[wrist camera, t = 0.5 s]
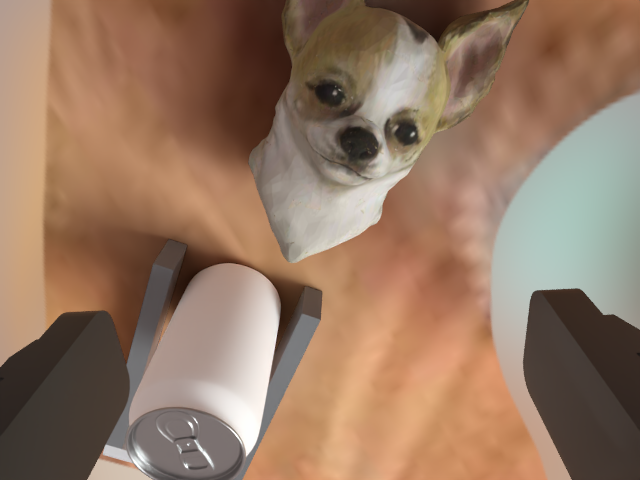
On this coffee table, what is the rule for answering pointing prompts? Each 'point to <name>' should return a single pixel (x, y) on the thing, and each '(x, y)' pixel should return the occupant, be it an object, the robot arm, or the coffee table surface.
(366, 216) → the ceramic sculpture
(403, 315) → the coffee table surface
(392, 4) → the coffee table surface
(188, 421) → the can
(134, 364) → the frame
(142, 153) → the coffee table surface
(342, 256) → the coffee table surface
